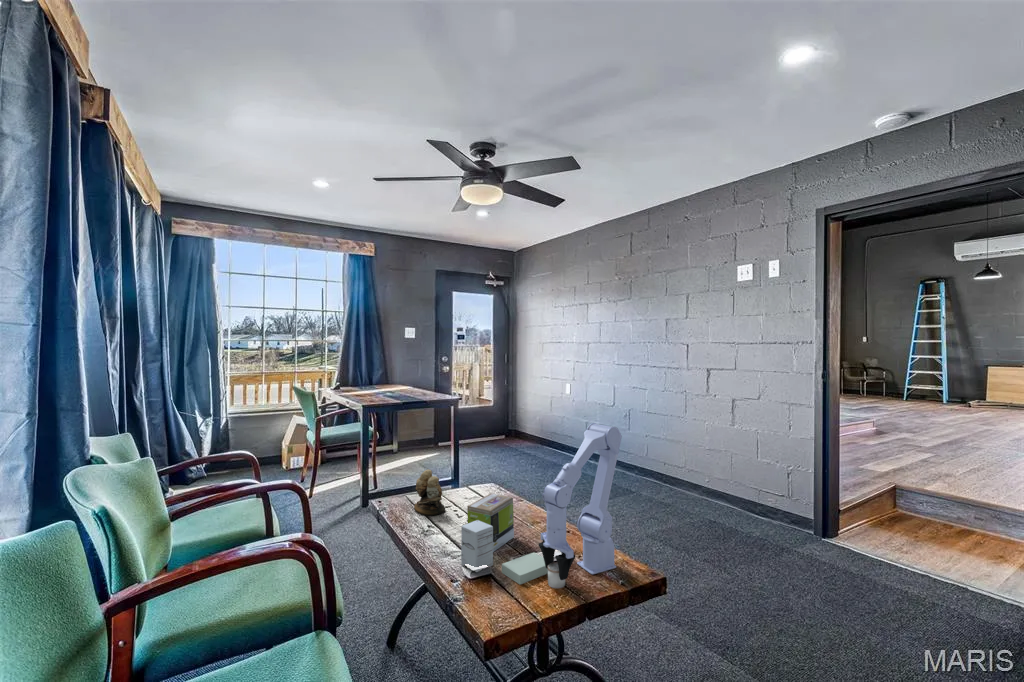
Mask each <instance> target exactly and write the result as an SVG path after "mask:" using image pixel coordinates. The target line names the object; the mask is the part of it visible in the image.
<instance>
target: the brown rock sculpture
mask: <svg viewBox="0 0 1024 682" xmlns="http://www.w3.org/2000/svg"><path fill="white" fill-rule="evenodd" d="M439 480H440V479H439V477H438V476H435V475H433V470H431V469H426V470H424V471H423V472H422V473H421V474H420V476H419V477H418V478H417V479H416V483H415V490H416V492H417V494H418V497H420V499H419V500H417V502H416V503H415V504H414V506H413V510H414V511H415V513H417V514H419V515H420V514H421V516H424V515H425V516H426V517H434V516H437V515H442V513H443V514H444V513H445V511H446V507H445V505H444V504H443V503H442V501H443V500H442V499H443V498H442V495H443V489H442V486H441V485H440V481H439Z"/></svg>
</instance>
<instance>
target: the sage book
mask: <svg viewBox="0 0 1024 682" xmlns="http://www.w3.org/2000/svg"><path fill="white" fill-rule="evenodd" d="M501 574H503V575H505V576H506V577H508V578H509V579H511V580H512V581H514V582H515V583H517V584H518V585H523V584H525V583H528V582H530V581H532V580H534V579H537V578H540V577H543V576H545V575H548V569H547V568H546V566H545V562H544V558H543V555H540V554H538V553H536V552H531V553H528V554H526V555H522V556H520V557H517V558H514V559H512V560H510V561H506V562H503V563H501Z"/></svg>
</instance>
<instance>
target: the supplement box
mask: <svg viewBox="0 0 1024 682" xmlns="http://www.w3.org/2000/svg"><path fill="white" fill-rule="evenodd" d="M460 536H461V538H460V539H461V541H460V542H461V543H460V544H461V545H460V546H461V547H460V548H461V550H460V551H461V553H460V555H461V556H460V557H461V563H460V564H461V566H463V565H465V564H469V565H471V566H474V567H479V566H482V565H487V566H490V567H492V566H493V565H494V557H493V556H494V552H493V526H491V525H489V524H486V523H484V522H481V521H479V520H476V521H473V522H471V523H468V522H467V523H466V524H463V525H461V535H460ZM463 567H464V566H463Z"/></svg>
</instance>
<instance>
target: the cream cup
mask: <svg viewBox="0 0 1024 682" xmlns="http://www.w3.org/2000/svg"><path fill="white" fill-rule="evenodd" d="M547 585H548V586H549V587H551V588H552V589H562V588H564V587H565V586H566V579H565V580H560V577H559V567H558V563H557V561H556V562H554V563H550V564H549V565H548V573H547Z"/></svg>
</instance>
